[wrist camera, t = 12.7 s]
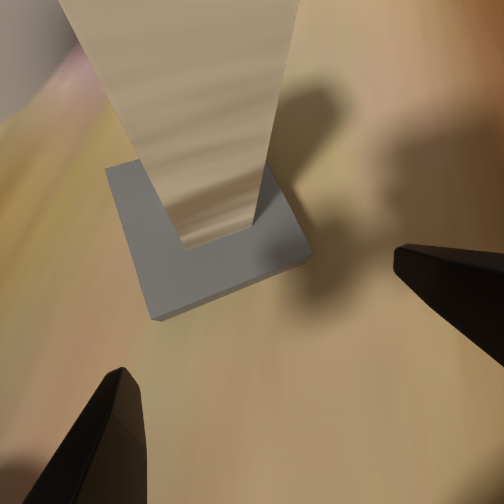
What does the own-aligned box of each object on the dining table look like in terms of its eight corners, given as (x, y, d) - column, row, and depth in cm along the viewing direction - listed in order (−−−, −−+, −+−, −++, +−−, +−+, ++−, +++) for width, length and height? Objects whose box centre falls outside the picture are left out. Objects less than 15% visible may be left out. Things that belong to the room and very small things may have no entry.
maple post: (251, 226, 17) (307, -38, 5) (186, 250, 16) (57, -1, 4) (226, 172, 18) (221, -153, 6) (164, 191, 18) (12, -142, 5)
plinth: (303, 263, 20) (313, 253, 17) (161, 321, 17) (151, 319, 15) (247, 150, 22) (250, 128, 20) (119, 188, 20) (104, 168, 18)
